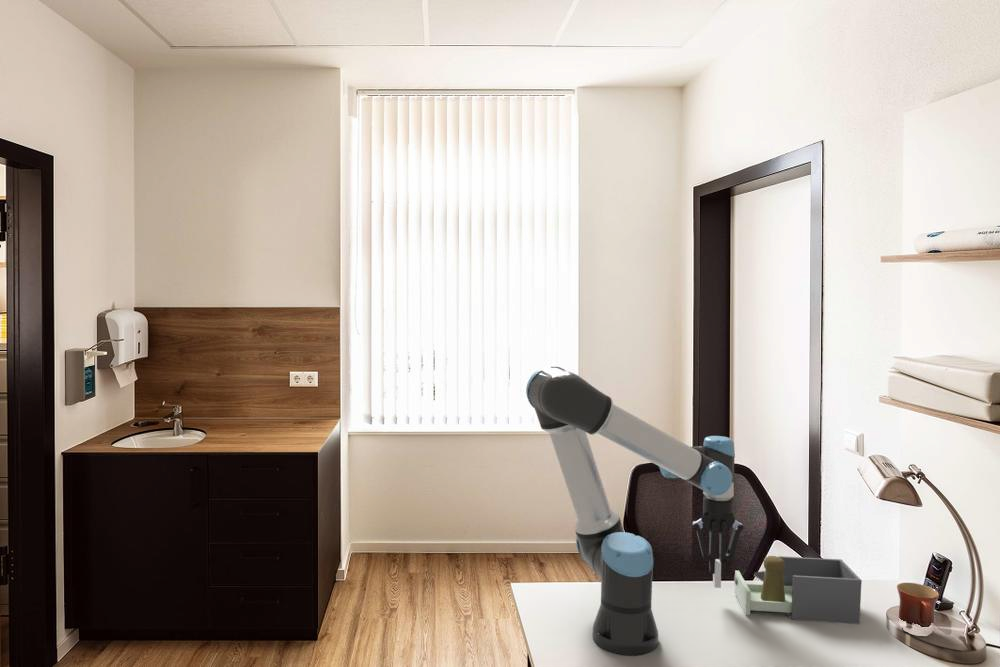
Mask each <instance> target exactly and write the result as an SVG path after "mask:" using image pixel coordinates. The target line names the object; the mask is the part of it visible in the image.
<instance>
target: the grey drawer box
mask: <svg viewBox="0 0 1000 667" xmlns="http://www.w3.org/2000/svg"><path fill="white" fill-rule="evenodd" d="M778 557H780V558H781V559H783V560H784V562H785V569H784V571H783V582H784V586H792V609H791V613H788V612H786V613H787V614H788V616H789V617H790V619H791V620H792V621H806V622H823V623H836V624H837V623H841V624H857V625H860V623H861V621H860V620H861V618H860V617H861V600H862V598H861V597H862V579H861V578H860V577H859V576H858V574H856V573H855V572H854V571H853V570H852V569H851V568H850V567H849V566H848V565H847V564H846V562H844V561H843V559H839V558H838V559H837V558H821V557H820V558H819V557H802V556H801V557H799V556H783V555H782V556H780V555H778Z"/></svg>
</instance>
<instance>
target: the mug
mask: <svg viewBox="0 0 1000 667" xmlns="http://www.w3.org/2000/svg"><path fill="white" fill-rule="evenodd" d="M896 588H897V593H898V595H899V606H898V617H899V618H900V619H901V620H903V621H909V622H912V623H914V624H918V625H920V626H921V627H929V626H930V625H931V623H934V624H935V609H936V608H935V607H936V603H937V601H938V599H939V596H940V593H939V592H938V590H936V589H935V588H933V587H930V586H927V585H924V584H921V583H916V582H901V583H898V584H897V585H896Z"/></svg>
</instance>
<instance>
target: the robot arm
mask: <svg viewBox="0 0 1000 667" xmlns="http://www.w3.org/2000/svg"><path fill="white" fill-rule="evenodd" d="M525 394H526V398H527V400H528V402H529V404H530V405H531V407H532V408H534V411H535V414H536V416H537V419H538V423H539V426H540V428H541V430H543V431H545V432H547V433H548V434H549V435H550V436H549V437H550V439H551V442H552V445H553V448H554V451H555V455H556V457H557V461H558V463H559V467H560V470H561V472H562V475H563V479H564V482H565V485H566V488H567V490H568V494H569V496H570V501H571V503H572V506H573V510H574V512H575V515H576V518H577V520H576V522H575V523H574V526H573V527H574V531H575V534H576V536H575V543H576V544H575V546H576V549H577V552H578V554H579V556H580V558H581V559H582V560H583V562H584V563H585V564H586V565H587V566H589V568H590V569H591V570H592V571H593V572H594V573H595V575H596V576H597V577H598V578H599V579H600V605H599V608H598V611H597V613H596V616H595V619H594V621H593V624H592V639H593V641H594V643H595V644H596V645H597V646H599V647H600V648H602V649H603V650H606V651H608V652H611V653H615V654H619V655H627V656H636V655H644V654H647V653H650V652H652V651H654V650H656V648H657V647H658V645H659V631H658V630H659V629H658V628H657V624H656V621H655V616H654V613H653V610H652V600H653V599H652V597H653V596H652V595H653V568H654V555H653V549H652V546H651V544H650V543H649V541H647V540H646V539H645V538H644V537H642V536H640V535H635V534H634V533H631V532H625V530H624V527H623V524H622V522H621V518H620V516H619V515H620V514H619V513H618V512H617V511H615V510H613V509H611V505H610V503H609V501H608V498H607V494H606V490H605V488H604V485H603V482H602V478H601V474H600V472H599V470H598V466H597V463H596V459H595V457H594V453H593V449H592V448H591V445H590V442H589V439H588V435H587V434H589V435H591V436H592V435H593V436H594V435H596V434H598V435H600V436H602V437H604V438H606V439H608V440H610V441H612V442H613V443H615V444H617V445H619V446H620V447H622V448H624V449H626V450H628V451H631V453H634V454H636V455H637V456H639V457H641V458H642V459H645V460H647V461H649V462H651V463H652V464H654V465H656V466H657V467H658V468H659V470H660V473H661V475H662V476H663V477H664V478H667V479H679V478H681V480H683V481H685V482H688V483H689V484H691V485H693V486H695V487H696V488H698V489H700V490H702V491H703V492H702V494H703V498H702V500H703V501H702V502H703V503H702V513H701V515H700V518H699V519H698V520H693V521H692V526H693V528H694V529H695V531H696V535H697V540H698V542H699V548H700V551H701V555H702V558H703V559H704V560H705V561H708V564H709V565H708V566H709V567H708V570H709V573H710V574H711V575H712V584H713V587H714V588H715V589H716V588H717V589H718V588H719V589H721V588H722V584H721V583H722V575H725V574H726V563H727V562H728V561H733V560H734V556H735V553H736V549H737V545H738V542H739V538H740V535H741V533H742V531H743V530H744V528H745V526H744V525H743V524H742V522H740V521H738V520H736V518H735V516H734V503H735V502H734V488H735V487H734V486H735V485H734V482H735V481H734V478H735V457H736V453H735V442H734V440H733V439H732V438H731V437H728V436H721V435H710V436H706V437H705V438H704V439H703V445H699V446H698V445H697V446H690V445H688V444H686V443H684V441H683V442H682V441H681V440H679V439H677V438H676V437H673V436H671V435H670V434H668V433H667V432H665V431H662V430H661V429H659V428H658V427H655V426H653V425H652V424H650V423H649V422H646V421H645V420H643V419H641V418H639V417H637V416H635V415H634V414H632V413H630V412H628V411H627V410H625V409H623V408H621V407H620V406H617V405H616V404H614V402H613V399H612V397H610V396H608V395H607V394H605V393H604V392H602V391H600V390H599V389H597V388H596V387H594V386H593V385H592V384H591V383H589V382H588V381H586V379H584V378H582V377H581V376H579V375H578V374H575V373H574V372H571V371H567V370H566V369H564V368H562V367H560V366H544V367H542V368H540V369H538V370H536V371H535V372H534V373H532V375H531V376H530V378H529V379H528V381H527V384H526V388H525ZM703 524H704V526H705V527H706V528H707V530H708V532H709V534H708V536H709V539H708V540H709V541H708V542H709V543H708V545H709V546H708V549H707V546H706V541H705V537H704V533H703V530H702V529H703V527H704V526H703ZM731 527H732V528H733V529H732V532H731V535H730V539H729V543H728V547H727V532H728V531H729V530H730V529H731ZM717 534H719V536H718V537H719V538H718V540H719V541H718V543H719V546H718V548H719V549H718V550H719V552H718V558H716V551H717V550H716V546H717Z"/></svg>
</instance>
